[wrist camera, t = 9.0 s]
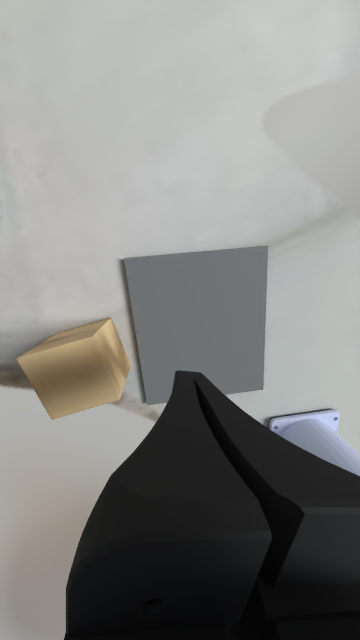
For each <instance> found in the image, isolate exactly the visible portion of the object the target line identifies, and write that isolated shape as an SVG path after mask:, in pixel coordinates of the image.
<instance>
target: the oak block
mask: <svg viewBox="0 0 360 640" xmlns="http://www.w3.org/2000/svg"><path fill="white" fill-rule="evenodd" d="M16 359H17V361H18V362H19V364H20V366H21V368H22V369H23V371H24V373H25V375H26V376H27V378H28V380H29V381H30V383H31V385H32V387H33V388H34V390H35V392H36V394H37V395H38V397H39V399H40V400H41V402H42V404H43V406H44V407H45V409H46V411H47V413H48V414H49V416H50V418H51V419H52V420H53V419H56V418H59V417H62V416H66V415H69V414H72V413H76V412H80V411H83V410H86V409H89V408H93V407H96V406H100V405H103V404H107V403H110V402H113V401H117V400H120V397H121V394H122V391H123V387H124V384H125V381H126V378H127V375H128V372H129V369H130V363H129V361H128V358H127V356H126V353H125V351H124V348H123V345H122V343H121V340H120V338H119V335H118V333H117V330H116V328H115V325H114V323H113V320H112V318H107V319H104V320H101V321H97V322H94V323H90V324H87V325H83V326H80V327H77V328H73V329H70V330H66V331H63V332H59V333H56V334H55V335H53V336H52V337H50V338H48V339H47V340H45V341H44V342H42V343H40V344H39V345H37V346H36V347H34V348H32V349H31V350H29V351H28V352H26V353H24V354H23V355H21V356H20V357H18V358H16Z"/></svg>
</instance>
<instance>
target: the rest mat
mask: <svg viewBox="0 0 360 640" xmlns="http://www.w3.org/2000/svg"><path fill="white" fill-rule="evenodd" d="M267 260H268V246H261V247H250V248H238V249H227V250H215V251H204V252H192V253H181V254H169V255H158V256H146V257H135V258H124V263H125V270H126V276H127V282H128V288H129V295H130V301H131V307H132V314H133V320H134V326H135V333H136V339H137V345H138V351H139V358H140V364H141V370H142V377H143V383H144V389H145V396H146V402H147V405H151V404H159V403H166V402H168V400H169V398H170V396H171V393H172V389H173V382H174V376H175V372H176V371H177V370H181V371H192V372H201V373H202V374H203V375H204V376H205V377H207V378H208V379H209V380H210V381H211V382H212V383H213V384H214V385H215V386H216V387H217V388H218V389H219V390H220V391H221V392H222V393H223V394H224V395H225V394H233V393H240V392H248V391H255V390H262V389H263V378H264V348H265V319H266V289H267Z"/></svg>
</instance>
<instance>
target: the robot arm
mask: <svg viewBox="0 0 360 640" xmlns="http://www.w3.org/2000/svg"><path fill="white" fill-rule="evenodd" d="M339 418H340V412H339V411H338V410H336V409H333V410H326V411H319V412H312V413H305V414H298V415H292V416H285V417H278V418H273V419H271V421H270V429H268V428H267V427H265V426H264V425H262V424H261V423H259V422H258V421H256V420H255V419H254V418H252V417H251V416H250V415H248V414H247V413H245V412H244V411H243V410H242V409H240V408H239V407H238V406H237V405H236V404H234V403H233V402H232V401H231V400H230V399H229V398H227V397H226V396H225V395H224V394H223V393H222V392H221V391H220V390H219V389H218V388H217V387H216V386H215V385H214V384H213V383H212V382H211V381H210V380H209V379H208V378H207V377H205V376H204V375H203V374H202V373H201V372H192V371H181V370H177V371H176V372H175V376H174V382H173V389H172V393H171V396H170V398H169V400H168V403H167V405H166V407H165V409H164V410H163V412H162V414H161V416H160V417H159V419H158V421H157V422H156V424H155V425H154V427H153V428H152V430H151V431H150V432H149V434H148V435H147V436H146V438H145V439H144V440H143V441H142V442H141V443H140V445H139V446H138V447H137V448H136V450H135V451H134V452H133V453H132V454H131V455H130V456H129V457H128V458H127V459H126V460H125V461H124V462H123V463H122V464H121V465H120V466H119V468H118V469H117V470H116V471H115V472H114V473H113V474H112V475H111V476H110V478H109V480H108V482H107V483H106V485H105V487H104V489H103V491H102V493H101V494H100V496H99V498H98V500H97V502H96V504H95V506H94V508H93V510H92V512H91V514H90V516H89V519H88V521H87V523H86V526H85V528H84V531H83V533H82V536H81V538H80V541H79V544H78V547H77V550H76V554H75V557H74V561H73V564H72V567H71V571H70V574H69V578H68V582H67V587H66V634H65V638H64V640H360V454H359V453H358V452H357V451H356V450H355V449H354V448H353V447H352V446H350V445H349V444H348V443H347V442H346V441H345V440H344V439H343V438H342V437H341V436H340V435H339V434H338V433H337V430H338V424H339Z"/></svg>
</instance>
